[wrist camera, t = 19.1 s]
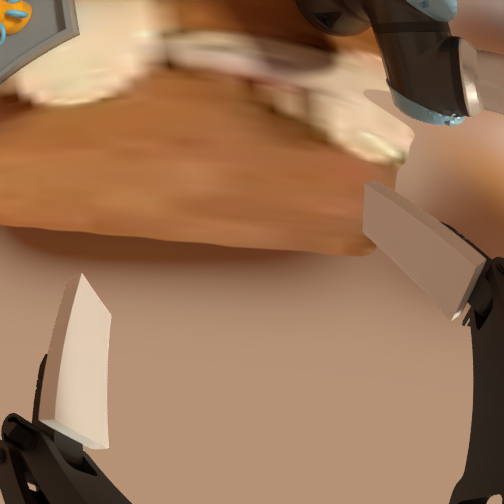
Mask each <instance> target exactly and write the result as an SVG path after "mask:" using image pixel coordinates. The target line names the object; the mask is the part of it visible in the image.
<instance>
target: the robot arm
mask: <svg viewBox="0 0 504 504" xmlns="http://www.w3.org/2000/svg"><path fill="white" fill-rule="evenodd" d="M296 2H297V5H298V7H299V9H300V11H301V12H302V14H303V15H304V16H305V18H306V19H307V20H308V21H309V22H310V23H311V24H312V25H314V26H315V27H316V28H318V29H319V30H321V31H323V32H325V33H327V34H330V35H334V36H340V37H345V36H353V35H357V34H360V33H362V32H364V31H365V30H367V29H368V28H370V27H371V26H372V28H373V31H374V35H375V38H376V41H377V44H378V48H379V51H380V54H381V58H382V62H383V65H384V69H385V73H386V77H387V79H386V81H387V85H388V86H389V88H390V91H391V95H392V99H393V102H394V104H395V106H397V108H398V109H399V110H400V111H401V112H403V113H404V114H406V115H407V116H409V117H411V118H414V119H416V120H419V121H422V122H426V123H430V124H435V125H444V124H446V125H448V126H454V125H458V124H461V123H462V122H463V121H464V118H465V116H468V117H475V116H476V115H477V114H478V113H479V112H480V111H482V110H488V111H492V112H496V113H499V114H503V115H504V54H501V53H496V52H491V51H485V50H479V49H477V48H475V47H474V46H473V45H472V44H471V43H470V42H469V41H468V40H467V39H466V38H464V37H457V36H452V35H451V32H450V28H449V24H448V22H449V21H450V20H453V19H454V18H455V17H456V15H457V10H456V8H457V1H456V0H296ZM362 232H363V233H364V234H365V235H366V236H367V237H368V238H369V239H370V240H372V241H373V242H374V243H375V244H376V245H377V246H378V247H379V248H380V249H381V250H382V251H383V252H384V253H386V254H387V255H388V256H389V257H390V258H391V259H392V260H393V261H394V262H395V263H396V264H397V265H398V266H399V267H400V268H401V269H402V270H403V271H404V272H405V273H406V274H407V275H408V276H409V277H410V278H411V279H412V280H413V281H414V282H415V283H416V284H417V285H418V286H419V287H420V288H421V289H422V290H423V291H424V292H425V293H426V294H427V296H428V297H429V298H430V299H431V300H432V301H433V302H434V303H435V304H436V305H437V306H438V308H439V309H441V311H442V312H443V313H444V314H445V315H446V316H447V318H448V319H449V320H450V321H452V320H453V319H454V318H456V317H457V316H458V315H460V314H461V313H462V312H463V310H464V308H465V306H466V304H467V302H468V303H469V304H470V305H471V307H470V309H469V311H468V313H467V315H466V316H465V318H464V320H463V323H462V325H463V326H465V324H466V322H467V321H468V319H469V318H470V321H469V323H468V326H471V335H472V349H473V373H474V374H473V376H474V385H473V386H474V387H473V413H472V425H471V434H470V442H469V449H468V455H467V462H466V466H465V471H464V474H463V476H462V478H461V479H460V480H459V482H458V483H457V484H456V486H455V488H454V490H453V492H452V496H451V499H450V502H449V504H486V503H487V501H488V499H489V498H490V497H491V496H493V495H497V494H500V495H501V496H502V499H503V500H502V504H504V258H501V257H496V258H494V259H493V260H492V259H490V258H489V257H488V256H487V255H486V254H485V253H483V252H482V251H481V250H480V249H479V248H477V247H476V246H475V245H474V244H473V243H471V242H470V241H469V240H468V239H467V240H466V238H465V237H464V236H462V235H461V234H459V232H457V231H456V230H455V229H454V228H452V227H451V226H449V225H447V224H445V223H443V222H440V221H438V220H436V219H435V218H434V217H432V216H431V215H429V214H428V213H427V212H425V211H424V210H422V209H421V208H419V207H418V206H417V205H415V204H414V203H412V202H411V201H409V200H408V199H406V198H404V197H403V196H401V195H400V194H398V193H397V192H395V191H394V190H392V189H390V188H389V187H387V186H386V185H384V184H382V183H381V182H379V181H377V180H376V181H372V182H368V183H365V184H364V214H363V231H362ZM110 322H111V314H110V313H109V312H108V310H107V309H106V307H105V306H104V305H103V303H102V302H101V300H100V299H99V298H98V296H97V295H96V293H95V292H94V290H93V289H92V287H91V286H90V284H89V283H88V281H87V280H86V278H85V277H84V275H83V274H82V273H80V274H78V275H75V276H72V277H70V278H69V279H68V282H67V285H66V288H65V291H64V294H63V298H62V301H61V304H60V307H59V311H58V314H57V318H56V322H55V326H54V329H53V333H52V338H51V342H50V346H49V351H48V354H45V356H44V358H43V360H42V362H41V365H40V368H39V373H38V380H37V385H36V387H37V389H36V393H35V399H34V408H33V418H32V423H30V422H28V421H27V420H25V419H24V418H22V417H21V416H19V415H18V414H15V413H11V414H9V415H8V416H7V417H6V418H5V420H4V422H3V425H2V431H1V432H2V434H1V436H2V440H0V489H1V492H2V495H3V498H4V501H5V504H132V503H131V502H130V501H129V500H128V499H127V498H126V497H125V496H124V495H123V494H122V493H121V492H120V491H119V490H118V489H117V488H116V487H115V486H114V485H113V484H112V482H111V481H110V480H109V479H108V478H107V477H106V476H105V475H104V473H103V472H102V471H101V470H100V469H99V468H98V466H97V465H96V464H95V463H94V461H93V460H92V459H91V458H90V456H89V455H88V454H86V452H84V451H83V445H85V446H87V447H89V448H91V449H109V443H108V442H109V441H108V423H107V366H108V348H109V334H110ZM27 483H30V484H33V485H35V486H36V491H33V490H30V489H29V487H28V484H27Z"/></svg>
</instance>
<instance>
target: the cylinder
mask: <svg viewBox="0 0 504 504" xmlns="http://www.w3.org/2000/svg"><path fill="white" fill-rule="evenodd" d="M31 15H32V7H31V5H30V4H28V3H26V2H24V1H22V0H0V33H1V35H2V36H1V40H0V45H2V44H3V42H4V41H5V37H6V34H8V35H12V34H15V33H17V32H19V31H20V30H21V29H23V28H24V27H25V25H26V24H27V23H28V21H29V20H30V18H31Z"/></svg>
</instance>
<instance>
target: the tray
mask: <svg viewBox="0 0 504 504" xmlns="http://www.w3.org/2000/svg"><path fill="white" fill-rule="evenodd" d="M22 1H24V2H26V3H28V4H30V5H31V7H32V15H31V18H30V20H29V21H28V23H27V24H26V25H25V27H24V28H23V29H21V30H20V31H19V32H17V33H15V34H12V35H8V34H6V37H5V41H4V42H3V44H2V45H0V84H1V83H2V82H3V81H5V80H6V79H7V78H9V77H10V76H11V75H13V74H14V73H16V72H17V71H18V70H20V69H21V68H23V67H24V66H26V65H27V64H29V63H30V62H32V61H33V60H35V59H36V58H38V57H40V56H41V55H43V54H45V53H46V52H48V51H50V50H51V49H53V48H55V47H57V46H59V45H60V44H62V43H64V42H66V41H68V40H70V39H72V38H74V37H76V36H78V35H80V33H79V27H78V22H77V15H76V9H75V2H74V0H22ZM1 36H2V35H1V33H0V40H1Z"/></svg>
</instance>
